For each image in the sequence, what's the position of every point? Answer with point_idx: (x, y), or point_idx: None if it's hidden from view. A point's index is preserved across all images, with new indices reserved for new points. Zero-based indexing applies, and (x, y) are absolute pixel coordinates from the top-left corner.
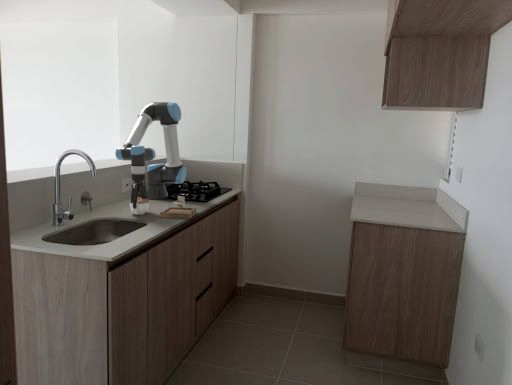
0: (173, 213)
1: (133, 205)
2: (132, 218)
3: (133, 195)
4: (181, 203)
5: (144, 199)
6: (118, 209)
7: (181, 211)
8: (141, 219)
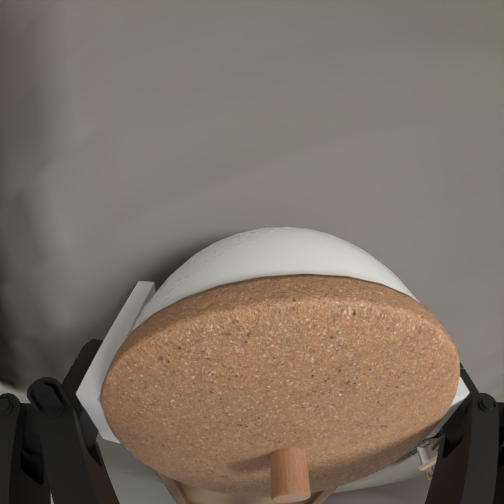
0: (169, 491)
1: (72, 374)
2: (55, 298)
3: (3, 502)
4: (424, 469)
5: (325, 477)
6: (456, 6)
7: (259, 497)
8: (66, 362)
